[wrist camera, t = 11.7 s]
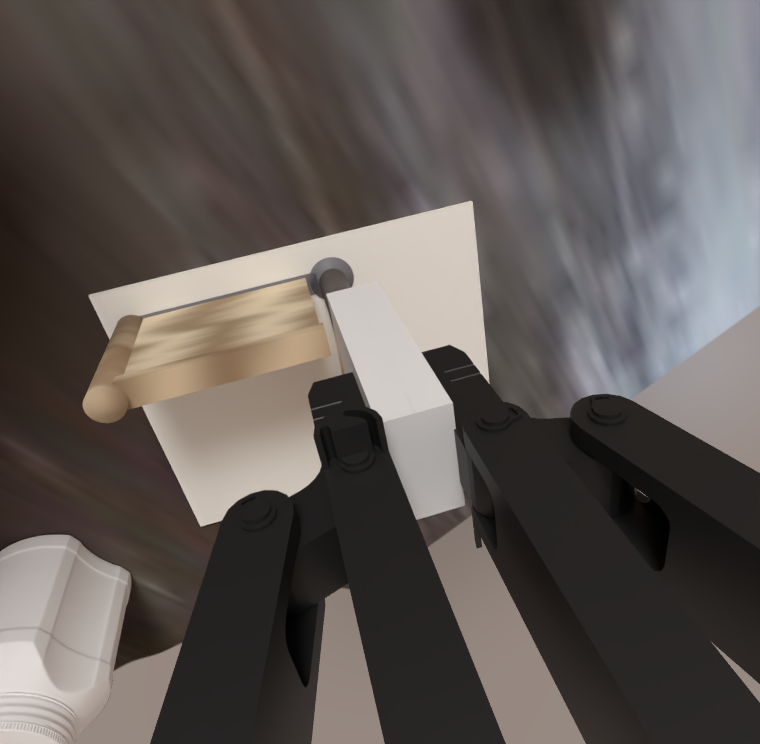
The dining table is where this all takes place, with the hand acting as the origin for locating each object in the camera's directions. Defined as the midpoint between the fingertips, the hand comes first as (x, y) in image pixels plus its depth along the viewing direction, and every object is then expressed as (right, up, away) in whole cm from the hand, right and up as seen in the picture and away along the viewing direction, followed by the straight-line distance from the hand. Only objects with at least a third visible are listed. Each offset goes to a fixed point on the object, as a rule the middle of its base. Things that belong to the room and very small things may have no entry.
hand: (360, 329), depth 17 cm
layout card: (-4, -2, +28) cm, 29 cm away
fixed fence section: (-11, +3, +24) cm, 26 cm away
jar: (-27, -19, +33) cm, 47 cm away
